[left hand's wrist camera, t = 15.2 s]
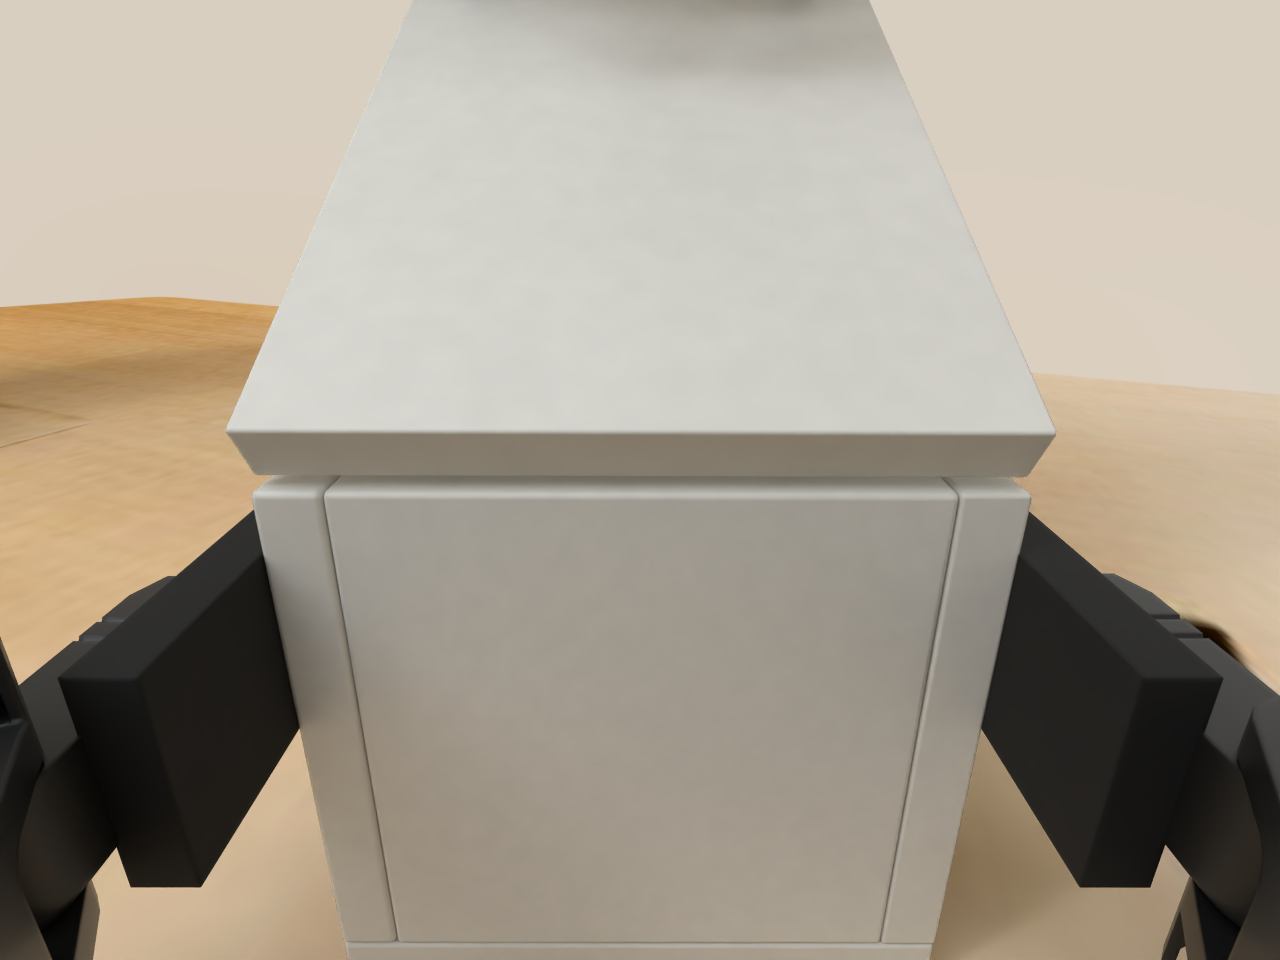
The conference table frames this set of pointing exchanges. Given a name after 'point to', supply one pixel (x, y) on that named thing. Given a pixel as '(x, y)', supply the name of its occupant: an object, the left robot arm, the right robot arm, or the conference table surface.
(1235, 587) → the conference table surface
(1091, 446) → the conference table surface
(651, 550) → the chest
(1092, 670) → the left robot arm
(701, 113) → the lid
